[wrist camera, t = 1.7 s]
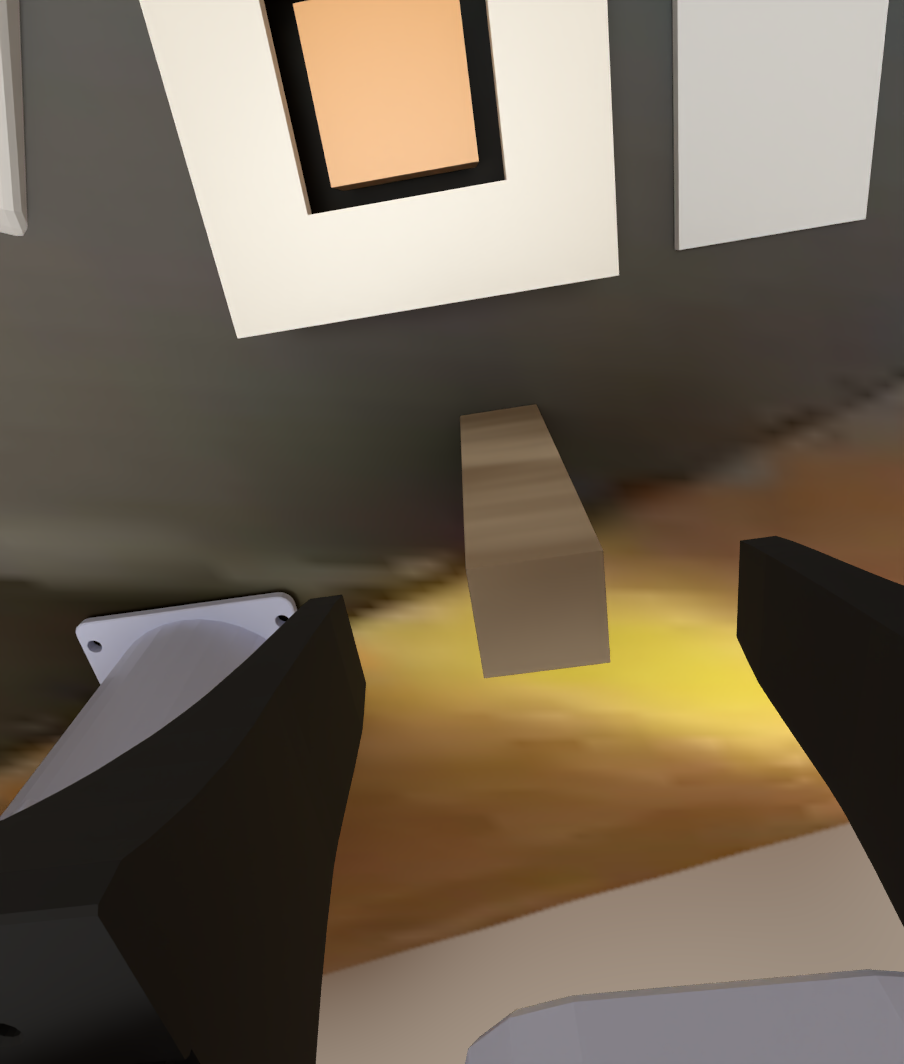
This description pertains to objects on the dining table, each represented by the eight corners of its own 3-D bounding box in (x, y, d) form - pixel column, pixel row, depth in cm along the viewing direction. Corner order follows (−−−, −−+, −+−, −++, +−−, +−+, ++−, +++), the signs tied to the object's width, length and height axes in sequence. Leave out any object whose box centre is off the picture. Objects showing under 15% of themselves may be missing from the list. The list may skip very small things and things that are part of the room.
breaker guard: (585, 264, 19) (618, 275, 15) (279, 315, 19) (237, 338, 15) (558, -161, 15) (594, -290, 11) (176, -80, 15) (87, -176, 12)
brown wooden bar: (543, 475, 21) (610, 662, 12) (471, 486, 21) (484, 678, 12) (536, 403, 20) (602, 550, 11) (459, 415, 20) (465, 569, 11)
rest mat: (857, 219, 18) (865, 218, 18) (674, 249, 18) (679, 250, 18) (896, -172, 15) (907, -183, 14) (671, -126, 15) (676, -134, 15)
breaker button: (476, 167, 16) (478, 160, 15) (343, 190, 16) (331, 187, 15) (455, -2, 15) (455, -30, 13) (310, 27, 15) (292, 3, 13)
